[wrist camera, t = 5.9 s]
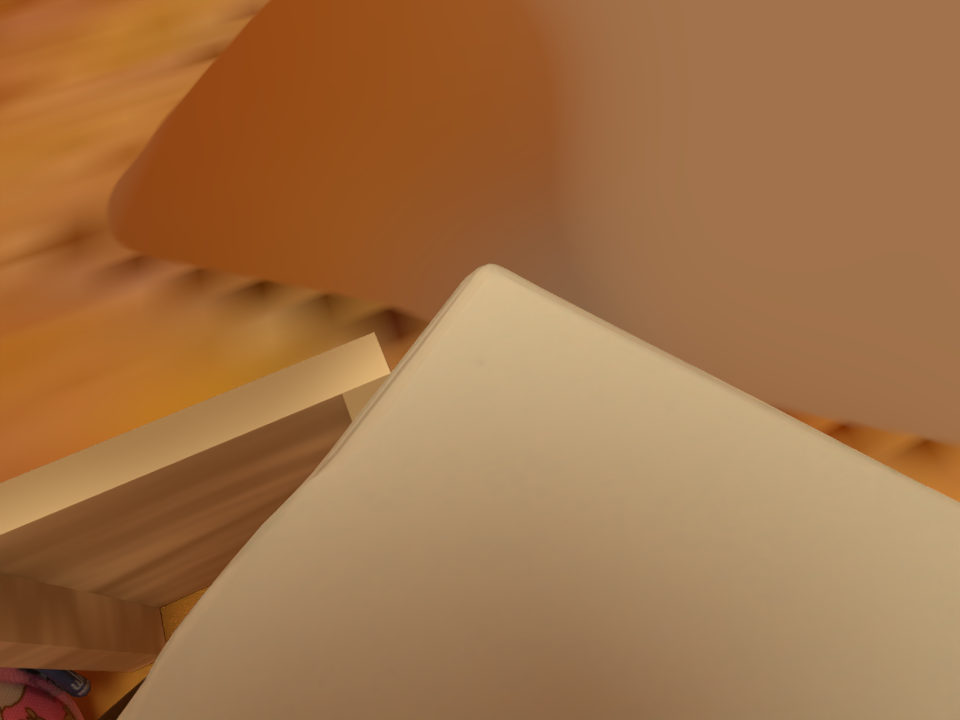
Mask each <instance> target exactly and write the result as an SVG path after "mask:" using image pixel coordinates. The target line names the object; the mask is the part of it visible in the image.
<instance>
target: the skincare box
mask: <svg viewBox="0 0 960 720" xmlns="http://www.w3.org/2000/svg"><path fill="white" fill-rule="evenodd" d="M117 720H960V502H958V501H956V500H954V499H952V498H950V497H948V496H945V495H943V494H941V493H939V492H937V491H935V490H933V489H931V488H929V487H927V486H925V485H923V484H921V483H919V482H917V481H915V480H913V479H911V478H909V477H908V476H906V475H904V474H902V473H900V472H898V471H896V470H894V469H892V468H890V467H888V466H886V465H884V464H882V463H880V462H878V461H876V460H874V459H872V458H870V457H868V456H867V455H865V454H863V453H861V452H859V451H857V450H855V449H853V448H851V447H849V446H847V445H845V444H843V443H842V442H840V441H838V440H836V439H834V438H832V437H830V436H828V435H826V434H824V433H822V432H820V431H818V430H816V429H815V428H813V427H811V426H809V425H807V424H805V423H803V422H801V421H799V420H797V419H795V418H793V417H791V416H789V415H788V414H786V413H784V412H782V411H780V410H778V409H776V408H774V407H772V406H770V405H768V404H766V403H764V402H762V401H761V400H759V399H757V398H755V397H753V396H751V395H749V394H747V393H745V392H743V391H741V390H739V389H737V388H735V387H733V386H732V385H729V384H728V383H726V382H724V381H721V380H720V379H718V378H716V377H714V376H712V375H710V374H708V373H706V372H704V371H702V370H700V369H698V368H696V367H695V366H693V365H691V364H689V363H687V362H684V361H683V360H681V359H679V358H677V357H675V356H673V355H671V354H669V353H667V352H665V351H663V350H661V349H659V348H657V347H655V346H653V345H651V344H649V343H647V342H645V341H643V340H641V339H639V338H637V337H635V336H633V335H631V334H630V333H628V332H626V331H624V330H622V329H620V328H618V327H616V326H614V325H612V324H610V323H608V322H606V321H604V320H602V319H600V318H599V317H597V316H594V315H593V314H591V313H589V312H587V311H585V310H583V309H581V308H579V307H577V306H575V305H573V304H571V303H569V302H567V301H566V300H564V299H562V298H560V297H558V296H556V295H554V294H552V293H550V292H548V291H546V290H544V289H543V288H540V287H538V286H537V285H535V284H533V283H531V282H529V281H528V280H526V279H524V278H522V277H520V276H518V275H516V274H514V273H513V272H511V271H509V270H507V269H505V268H503V267H501V266H499V265H495V264H487V265H484V266H482V267H479V268H477V269H476V270H475V271H474V272H472V273H471V274H470V275H469V276H468V277H466V278H465V279H464V280H463V281H462V283H461V284H460V285H459V287H458V288H457V289H456V290H455V292H454V293H453V294H452V296H451V297H450V298H449V299H448V301H447V302H446V303H445V305H444V306H443V307H442V308H441V310H440V311H439V312H438V313H437V315H436V316H435V317H434V319H433V320H432V321H431V322H430V324H429V325H428V326H427V328H426V329H425V330H424V331H423V333H422V334H421V335H420V336H419V338H418V339H417V340H416V342H415V343H414V344H413V345H412V347H411V348H410V349H409V351H408V352H407V353H406V354H405V356H404V357H403V358H402V360H401V361H400V362H399V363H398V365H397V366H396V367H395V368H394V370H393V371H392V372H391V374H390V375H389V376H388V377H387V379H386V380H385V381H384V383H383V384H382V385H381V386H380V388H379V389H378V390H377V391H376V393H375V394H374V395H373V396H372V398H371V399H370V400H369V401H368V403H367V404H366V405H365V406H364V408H363V409H362V410H361V411H360V413H359V414H358V415H357V417H356V418H355V419H354V421H353V422H352V423H351V425H350V426H349V427H348V429H347V430H346V431H345V432H344V434H343V435H342V436H341V438H340V439H339V440H338V441H337V443H336V444H335V445H334V447H333V448H332V449H331V450H330V452H329V453H328V454H327V455H326V457H325V458H324V459H323V460H322V462H321V463H320V464H319V465H318V467H317V468H316V469H315V470H314V472H313V473H312V474H311V475H310V476H309V477H308V478H307V479H306V480H305V481H304V482H303V483H302V485H301V486H300V487H299V488H298V489H297V490H296V491H295V492H294V493H293V494H292V495H291V496H290V497H289V498H288V499H287V501H286V502H285V503H284V504H283V505H282V506H281V507H280V508H279V509H278V510H277V511H276V512H275V513H274V514H273V515H272V516H271V517H270V518H269V519H268V520H267V521H266V522H264V523H263V524H262V526H261V527H260V528H259V529H258V530H257V531H256V533H255V534H254V535H253V536H252V537H251V538H250V540H249V541H248V542H247V543H246V544H245V545H244V547H243V548H242V549H241V550H240V551H239V552H238V554H237V555H236V556H235V557H234V558H233V559H232V560H231V562H230V563H229V564H228V565H227V566H226V568H225V569H224V570H223V571H222V572H221V574H220V575H219V576H218V577H217V579H216V580H215V581H214V582H213V583H212V585H211V586H210V587H209V588H208V589H207V591H206V592H205V593H204V594H203V596H202V597H201V598H200V599H199V601H198V602H197V603H196V604H195V606H194V607H193V608H192V609H191V611H190V612H189V613H188V615H187V616H186V617H185V618H184V620H183V621H182V622H181V623H180V625H179V626H178V627H177V628H176V630H175V631H174V633H173V634H172V636H171V637H170V639H169V640H168V642H167V643H166V645H165V646H164V648H163V649H162V651H161V652H160V654H159V655H158V657H157V659H156V661H155V663H154V664H153V666H152V668H151V670H150V672H149V673H148V675H147V677H146V679H145V681H144V682H143V684H142V685H141V686H140V688H139V689H138V691H137V692H136V693H135V695H134V696H133V698H132V699H131V700H130V702H129V703H128V705H127V706H126V707H125V709H124V710H123V712H122V713H121V714H120V716H119V717H118V718H117Z"/></svg>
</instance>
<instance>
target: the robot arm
mask: <svg viewBox="0 0 960 720" xmlns="http://www.w3.org/2000/svg"><path fill="white" fill-rule="evenodd" d="M145 679H146V678H144V679H143V680H142V681H141V682H140V683H139V684H138V685H136V686H135V687H134V688H133V689H132V690H131V691H130V692H128V693H127V694H126V695H125V696H124V697H123V698H122V699H120V700H119V701H118V702H117V703H116V704H115V705H114V706H112V707H111V708H110V709H109V710H108V711H107V712H106V713H104V714H103V715H102V716H101V717H100V718H99V719H98V720H117V718H118V717H119V716H120V714H121V713H122V712H123V710H124V709H125V707H126V706H127V705H128V703H129V702H130V700H131V699H132V698H133V696H134V695H135V693H136V692H137V691H138V689H139V688H140V686H141V685H142V684H143V682H144V681H145Z"/></svg>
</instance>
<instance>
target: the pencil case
mask: <svg viewBox="0 0 960 720" xmlns="http://www.w3.org/2000/svg"><path fill="white" fill-rule="evenodd" d="M90 688H91V682H90V681H88V680H87V679H86V678H84V677H83V676H81V675H80V674H78V673H76V672H75V671H73V670H59V669H34V668H8V667H0V720H84V717H83V715H82V713H81V711H80V710H79V708H78V706H77V704H76V703H75V701H74V700H73V699H72V697H71V696H73V697H83V696H86V695H87V694H88V693H89V691H90ZM70 695H71V696H70Z"/></svg>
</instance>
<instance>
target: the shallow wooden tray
mask: <svg viewBox="0 0 960 720" xmlns="http://www.w3.org/2000/svg"><path fill="white" fill-rule="evenodd" d="M390 374H391V370H390V367H389V365H388V363H387V361H386V358H385V356H384V354H383V351H382V349H381V347H380V345H379V342H378V340H377V338H376V335H375V333H371V334H369V335H366V336H364V337H361V338H359V339H356V340H354V341H351V342H349V343H346V344H344V345H342V346H339V347H337V348H334V349H332V350H329V351H327V352H324V353H322V354H319V355H317V356H314V357H312V358H309V359H307V360H304V361H302V362H299V363H297V364H294V365H292V366H290V367H287V368H285V369H282V370H280V371H277V372H275V373H272V374H270V375H267V376H265V377H262V378H260V379H257V380H255V381H252V382H250V383H247V384H245V385H242V386H240V387H237V388H235V389H233V390H230V391H228V392H225V393H223V394H220V395H218V396H215V397H213V398H210V399H208V400H205V401H203V402H200V403H198V404H195V405H193V406H190V407H188V408H185V409H183V410H181V411H178V412H176V413H173V414H171V415H168V416H166V417H163V418H161V419H158V420H156V421H153V422H151V423H148V424H146V425H143V426H141V427H138V428H136V429H133V430H131V431H129V432H126V433H124V434H121V435H119V436H116V437H114V438H111V439H109V440H106V441H104V442H101V443H99V444H96V445H94V446H91V447H89V448H86V449H84V450H81V451H79V452H76V453H74V454H72V455H69V456H67V457H64V458H62V459H59V460H57V461H54V462H52V463H49V464H47V465H44V466H42V467H39V468H37V469H34V470H32V471H29V472H27V473H24V474H22V475H20V476H17V477H15V478H12V479H10V480H7V481H5V482H2V483H0V667H8V668H34V669H59V670H84V671H110V672H134V671H136V670H138V669H140V668H142V667H145V666H147V665H149V664H151V663H154V662H155V661H156V659H157V657H158V655H159V654H160V652H161V651H162V649H163V648H164V646H165V645H166V641H165V636H164V630H163V625H162V619H161V613H160V607H163V606H165V605H167V604H169V603H172V602H174V601H176V600H178V599H181V598H183V597H185V596H187V595H190V594H192V593H194V592H196V591H199V590H201V589H203V588H206V587H208V586H210V585H212V583H213V582H214V581H215V580H216V579H217V577H218V576H219V575H220V574H221V572H222V571H223V570H224V569H225V568H226V566H227V565H228V564H229V563H230V562H231V560H232V559H233V558H234V557H235V556H236V555H237V554H238V552H239V551H240V550H241V549H242V548H243V547H244V545H245V544H246V543H247V542H248V541H249V540H250V538H251V537H252V536H253V535H254V534H255V533H256V531H257V530H258V529H259V528H260V527H261V526H262V524H263V523H264V522H266V521H267V520H268V519H269V518H270V517H271V516H272V515H273V514H274V513H275V512H276V511H277V510H278V509H279V508H280V507H281V506H282V505H283V504H284V503H285V502H286V501H287V499H288V498H289V497H290V496H291V495H292V494H293V493H294V492H295V491H296V490H297V489H298V488H299V487H300V486H301V485H302V483H303V482H304V481H305V480H306V479H307V478H308V477H309V476H310V475H311V474H312V473H313V472H314V470H315V469H316V468H317V467H318V465H319V464H320V463H321V462H322V460H323V459H324V458H325V457H326V455H327V454H328V453H329V452H330V450H331V449H332V448H333V447H334V445H335V444H336V443H337V441H338V440H339V439H340V438H341V436H342V435H343V434H344V432H345V431H346V430H347V429H348V427H349V426H350V425H351V423H352V422H353V421H354V419H355V418H356V417H357V415H358V414H359V413H360V411H361V410H362V409H363V408H364V406H365V405H366V404H367V403H368V401H369V400H370V399H371V398H372V396H373V395H374V394H375V393H376V391H377V390H378V389H379V388H380V386H381V385H382V384H383V383H384V381H385V380H386V379H387V377H388V376H389V375H390Z"/></svg>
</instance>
